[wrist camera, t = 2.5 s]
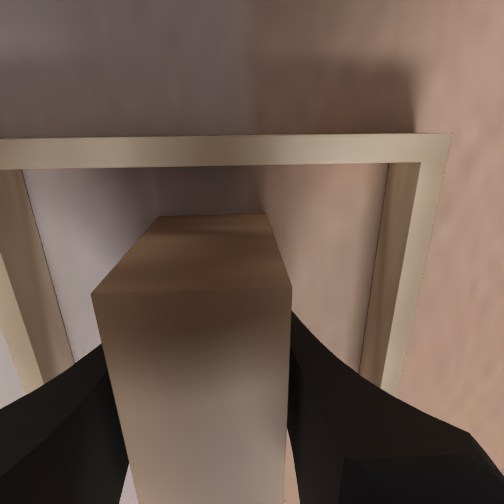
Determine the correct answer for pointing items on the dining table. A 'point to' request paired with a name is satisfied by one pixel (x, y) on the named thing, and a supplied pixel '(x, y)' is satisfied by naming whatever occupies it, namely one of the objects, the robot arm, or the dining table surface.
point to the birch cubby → (224, 154)
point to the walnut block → (201, 359)
